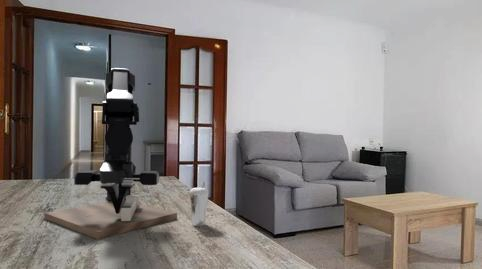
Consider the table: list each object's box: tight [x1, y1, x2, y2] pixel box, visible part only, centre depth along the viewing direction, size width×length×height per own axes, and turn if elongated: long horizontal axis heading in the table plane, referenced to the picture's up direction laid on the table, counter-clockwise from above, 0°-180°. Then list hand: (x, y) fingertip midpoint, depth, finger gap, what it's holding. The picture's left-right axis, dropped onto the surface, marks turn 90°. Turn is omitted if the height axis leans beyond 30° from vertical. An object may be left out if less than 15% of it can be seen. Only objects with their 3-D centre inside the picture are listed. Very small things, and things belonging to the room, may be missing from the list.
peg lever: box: [121, 194, 141, 221], centre depth 87 cm, size 16×4×3 cm, turn 11°
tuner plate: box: [43, 200, 178, 240], centre depth 88 cm, size 22×25×2 cm
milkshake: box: [188, 181, 209, 227], centre depth 84 cm, size 4×5×10 cm
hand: (117, 213), depth 83 cm, fingers closed
